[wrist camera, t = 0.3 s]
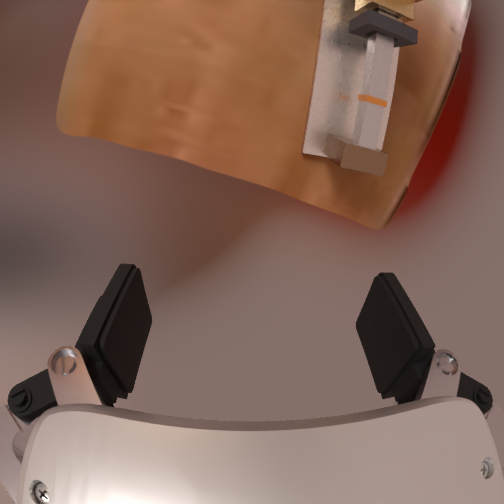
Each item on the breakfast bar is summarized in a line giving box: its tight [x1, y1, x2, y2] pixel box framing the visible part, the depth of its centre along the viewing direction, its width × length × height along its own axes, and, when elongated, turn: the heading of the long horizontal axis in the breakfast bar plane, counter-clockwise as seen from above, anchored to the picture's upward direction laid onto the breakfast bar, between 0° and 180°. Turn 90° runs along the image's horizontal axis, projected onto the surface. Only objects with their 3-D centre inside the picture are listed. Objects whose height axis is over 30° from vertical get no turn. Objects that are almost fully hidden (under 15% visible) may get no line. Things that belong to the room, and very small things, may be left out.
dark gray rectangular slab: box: [348, 9, 418, 48], centre depth 21 cm, size 2×6×6 cm, turn 84°
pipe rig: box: [301, 0, 399, 177], centre depth 25 cm, size 31×12×8 cm, turn 173°
